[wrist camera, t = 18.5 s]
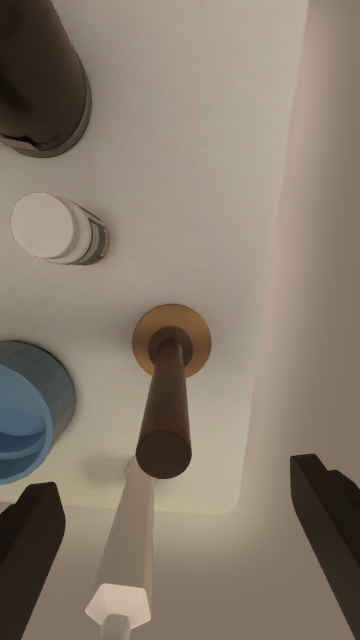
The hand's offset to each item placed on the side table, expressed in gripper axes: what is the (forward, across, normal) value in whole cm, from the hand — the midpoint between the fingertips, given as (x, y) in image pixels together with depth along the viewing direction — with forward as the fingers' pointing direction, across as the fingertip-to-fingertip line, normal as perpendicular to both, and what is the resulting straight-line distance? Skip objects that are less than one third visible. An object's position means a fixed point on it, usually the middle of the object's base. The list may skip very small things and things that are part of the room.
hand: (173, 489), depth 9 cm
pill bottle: (+18, +7, -11) cm, 23 cm away
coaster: (+18, 0, 0) cm, 18 cm away
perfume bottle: (+18, +6, +15) cm, 24 cm away
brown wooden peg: (+17, +1, +1) cm, 17 cm away
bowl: (+18, +18, +4) cm, 25 cm away
